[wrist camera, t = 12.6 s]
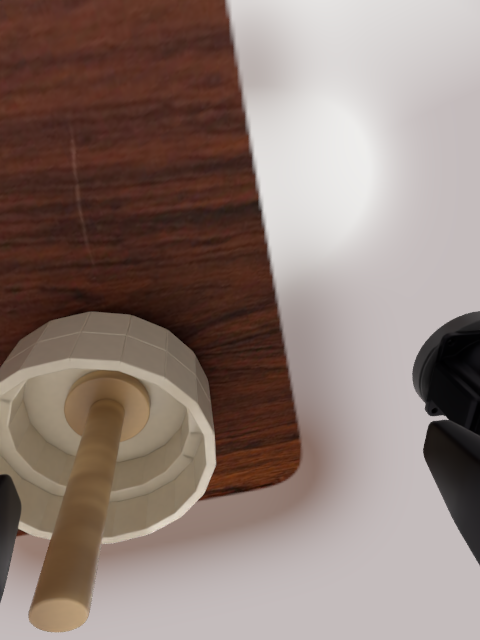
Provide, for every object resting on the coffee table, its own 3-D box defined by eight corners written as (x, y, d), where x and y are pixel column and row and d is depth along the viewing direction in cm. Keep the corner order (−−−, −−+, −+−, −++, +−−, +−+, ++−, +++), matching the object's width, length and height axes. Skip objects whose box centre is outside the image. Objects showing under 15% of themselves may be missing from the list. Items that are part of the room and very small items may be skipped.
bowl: (203, 298, 21) (209, 346, 17) (212, 459, 26) (220, 529, 22) (-25, 313, 20) (-83, 370, 15) (31, 479, 25) (-1, 559, 20)
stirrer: (145, 365, 22) (120, 562, 12) (154, 430, 24) (139, 643, 14) (59, 372, 21) (-40, 584, 12) (75, 438, 23) (3, 665, 14)
